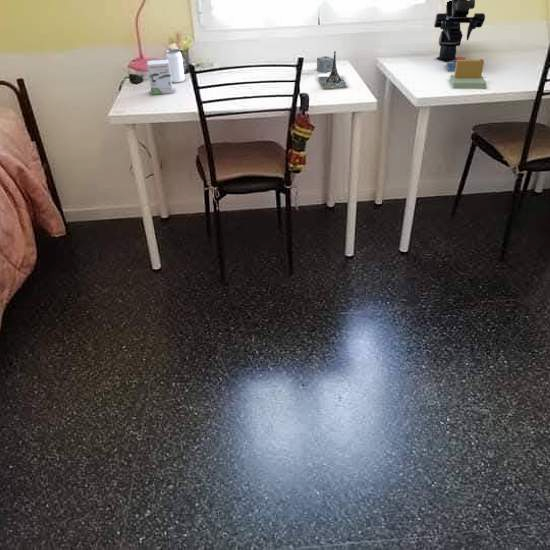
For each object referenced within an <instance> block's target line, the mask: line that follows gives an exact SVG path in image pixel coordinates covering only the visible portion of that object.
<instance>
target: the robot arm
mask: <svg viewBox="0 0 550 550" xmlns="http://www.w3.org/2000/svg"><path fill="white" fill-rule="evenodd" d="M475 7H476V0H452V1H449V2H447V5H446V12H445V11H444V12H445V13H444V12H443V13H441V12H440V13H437V14H436V15H435V18H434V21H433V22H434V24H433V26H434V28H436V29H437V28H438V29H439V28H440V30H441V31H440V34H439V37H438V46H439V47H440V48H439V49H440V50H439V55H438V56H437V57H436V60H439V61H442V62H446V63H449V62H452V61H453V60H456V59H457V57H456V56H457V47H460V45H461V43H462V39H463V31H462V30H461V24H468V26H467V32H466V41H469V39H470V37H471V33H472V32H473V30H476V28H482V27H483V24H484V22H485V20H486V14H485V13H484V12H475V13H474V14H473V16H468V15H469V14H470V13H469V12H470V10H474V8H475Z"/></svg>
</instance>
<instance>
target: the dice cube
mask: <svg viewBox="0 0 550 550" xmlns="http://www.w3.org/2000/svg"><path fill="white" fill-rule="evenodd" d="M333 60H334V57H331V56H327V55H324V56H319V57H316V71H319V72H322V73H327V72H331V71H332V68H333Z"/></svg>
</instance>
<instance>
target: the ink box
mask: <svg viewBox="0 0 550 550" xmlns="http://www.w3.org/2000/svg"><path fill="white" fill-rule="evenodd" d="M146 66H147V72H148V80H149V85H150V92H151V95H154V96H155V95H162V94H163V95H164V94H173V93H174V90H173V82H172V81H171V74H170V67H169V61H168V60H166V59H155V60H154V59H153V60H147V61H146Z"/></svg>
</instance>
